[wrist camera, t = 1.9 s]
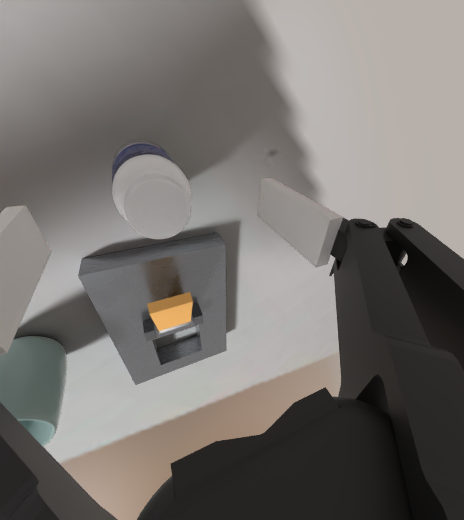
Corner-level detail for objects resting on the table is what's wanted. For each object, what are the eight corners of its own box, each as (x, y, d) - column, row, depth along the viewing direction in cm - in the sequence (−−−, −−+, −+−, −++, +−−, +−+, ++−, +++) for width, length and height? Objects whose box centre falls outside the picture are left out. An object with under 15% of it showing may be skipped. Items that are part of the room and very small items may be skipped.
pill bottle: (98, 168, 19) (87, 211, 12) (142, 125, 19) (158, 143, 12) (146, 210, 23) (160, 262, 16) (184, 174, 22) (217, 212, 15)
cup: (83, 331, 28) (71, 414, 21) (57, 369, 30) (38, 459, 23) (1, 320, 23) (-53, 424, 16) (-24, 367, 25) (-82, 479, 18)
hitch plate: (134, 367, 36) (136, 396, 33) (81, 258, 23) (75, 288, 19) (220, 336, 41) (230, 359, 37) (217, 232, 28) (231, 252, 24)
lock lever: (156, 324, 29) (158, 335, 28) (144, 302, 20) (147, 316, 20) (189, 314, 30) (192, 324, 30) (191, 289, 22) (195, 302, 21)
